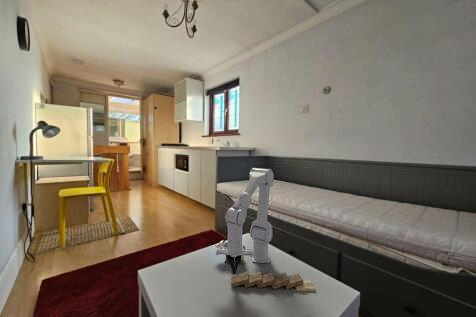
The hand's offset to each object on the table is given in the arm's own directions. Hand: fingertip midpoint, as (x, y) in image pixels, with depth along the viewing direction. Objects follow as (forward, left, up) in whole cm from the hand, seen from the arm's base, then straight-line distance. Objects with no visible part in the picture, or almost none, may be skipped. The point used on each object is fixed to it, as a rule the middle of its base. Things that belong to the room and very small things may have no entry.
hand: (234, 272), depth 78 cm
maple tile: (0, +24, -4) cm, 24 cm away
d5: (0, +20, -4) cm, 20 cm away
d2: (0, +4, -4) cm, 6 cm away
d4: (0, +14, -4) cm, 15 cm away
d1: (0, -1, -4) cm, 4 cm away
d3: (0, +9, -4) cm, 10 cm away
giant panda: (-16, -3, -5) cm, 17 cm away
